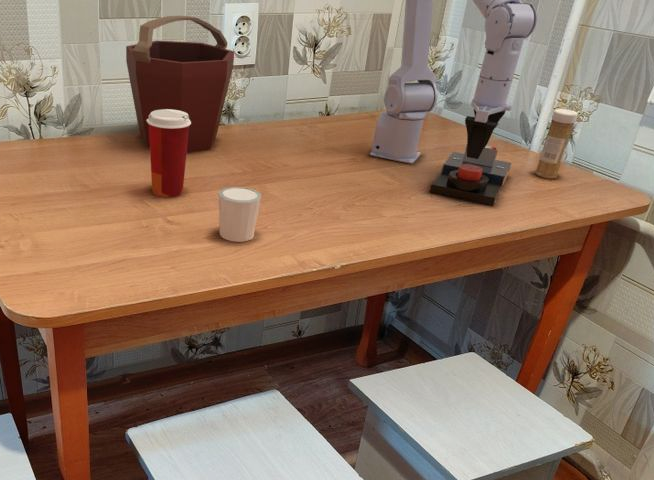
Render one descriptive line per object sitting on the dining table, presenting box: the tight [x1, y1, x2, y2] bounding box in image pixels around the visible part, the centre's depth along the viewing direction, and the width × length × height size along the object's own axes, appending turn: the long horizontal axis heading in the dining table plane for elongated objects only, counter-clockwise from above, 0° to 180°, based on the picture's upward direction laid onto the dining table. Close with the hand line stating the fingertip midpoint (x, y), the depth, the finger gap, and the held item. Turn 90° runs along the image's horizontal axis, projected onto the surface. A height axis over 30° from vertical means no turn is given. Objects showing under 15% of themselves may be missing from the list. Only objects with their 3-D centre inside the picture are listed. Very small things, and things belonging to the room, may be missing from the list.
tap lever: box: [463, 145, 499, 167], centre depth 143 cm, size 6×2×4 cm, turn 63°
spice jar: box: [534, 108, 579, 180], centre depth 146 cm, size 5×5×13 cm
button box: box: [429, 170, 502, 207], centre depth 136 cm, size 12×8×4 cm, turn 63°
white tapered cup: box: [218, 186, 262, 243], centre depth 113 cm, size 7×7×7 cm
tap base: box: [441, 151, 512, 192], centre depth 145 cm, size 12×10×3 cm
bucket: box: [125, 15, 235, 153], centre depth 149 cm, size 24×22×25 cm
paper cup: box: [146, 109, 191, 198], centre depth 125 cm, size 8×8×14 cm
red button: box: [457, 164, 483, 181], centre depth 135 cm, size 4×4×2 cm
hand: (475, 152), depth 133 cm, fingers open, 7 cm apart
